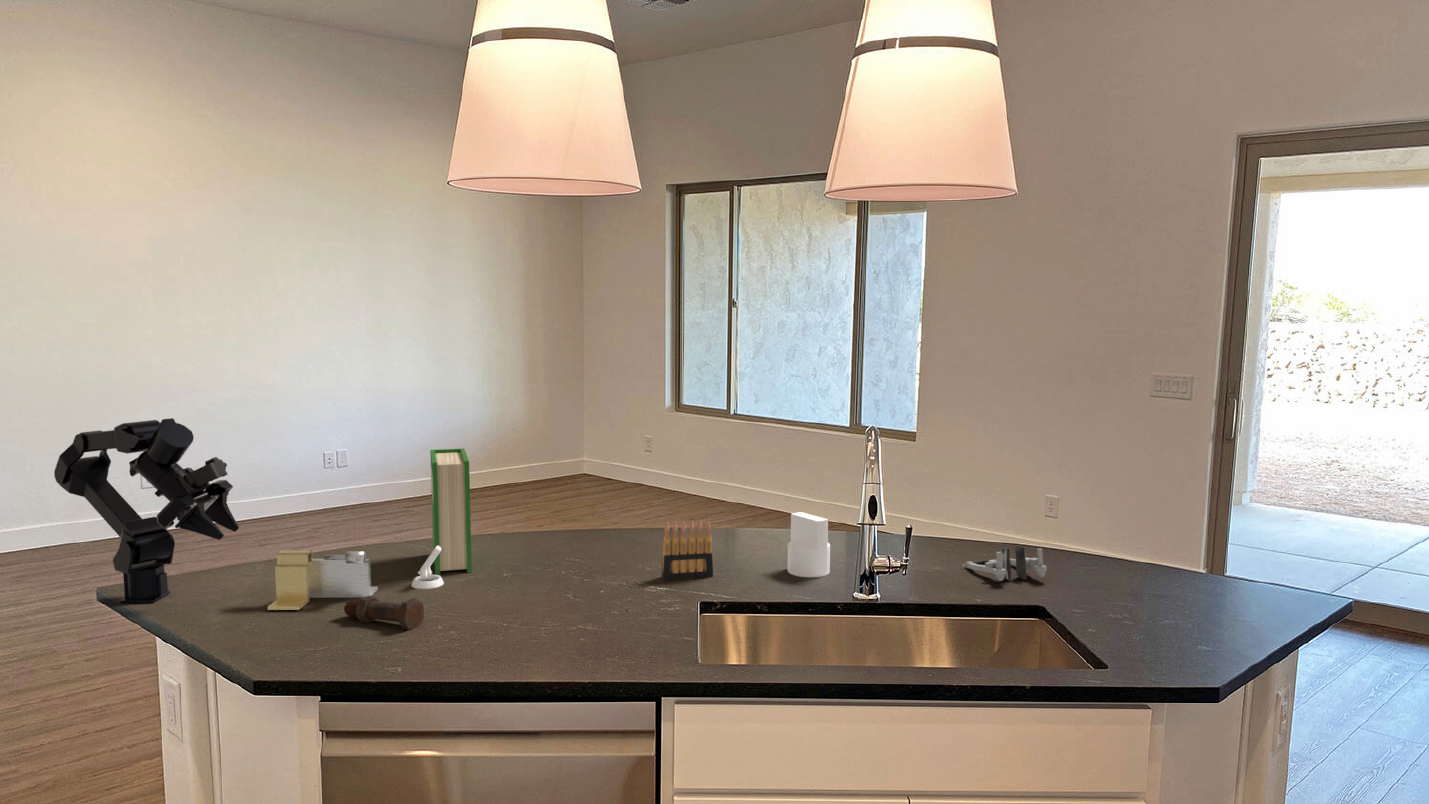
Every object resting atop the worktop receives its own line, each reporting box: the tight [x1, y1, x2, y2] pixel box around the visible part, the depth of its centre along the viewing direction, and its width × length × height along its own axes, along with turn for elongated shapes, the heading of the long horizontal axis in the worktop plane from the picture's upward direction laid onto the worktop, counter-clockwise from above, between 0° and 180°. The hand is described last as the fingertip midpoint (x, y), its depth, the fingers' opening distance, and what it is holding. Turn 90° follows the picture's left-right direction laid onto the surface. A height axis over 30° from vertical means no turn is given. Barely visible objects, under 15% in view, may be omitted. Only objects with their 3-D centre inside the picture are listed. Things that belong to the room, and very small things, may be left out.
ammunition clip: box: [661, 519, 714, 581], centre depth 206 cm, size 11×2×12 cm, turn 102°
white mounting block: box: [305, 550, 379, 599], centre depth 192 cm, size 12×8×10 cm
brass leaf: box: [267, 549, 313, 611], centre depth 186 cm, size 6×7×9 cm
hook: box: [411, 545, 445, 590], centre depth 200 cm, size 6×10×6 cm
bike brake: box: [961, 545, 1047, 582], centre depth 212 cm, size 14×7×20 cm
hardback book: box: [429, 448, 473, 576], centre depth 215 cm, size 18×7×24 cm, turn 17°
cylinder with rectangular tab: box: [787, 511, 831, 578], centre depth 211 cm, size 9×9×12 cm
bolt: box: [343, 595, 425, 631], centre depth 177 cm, size 6×5×15 cm
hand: (229, 533), depth 186 cm, fingers open, 6 cm apart
